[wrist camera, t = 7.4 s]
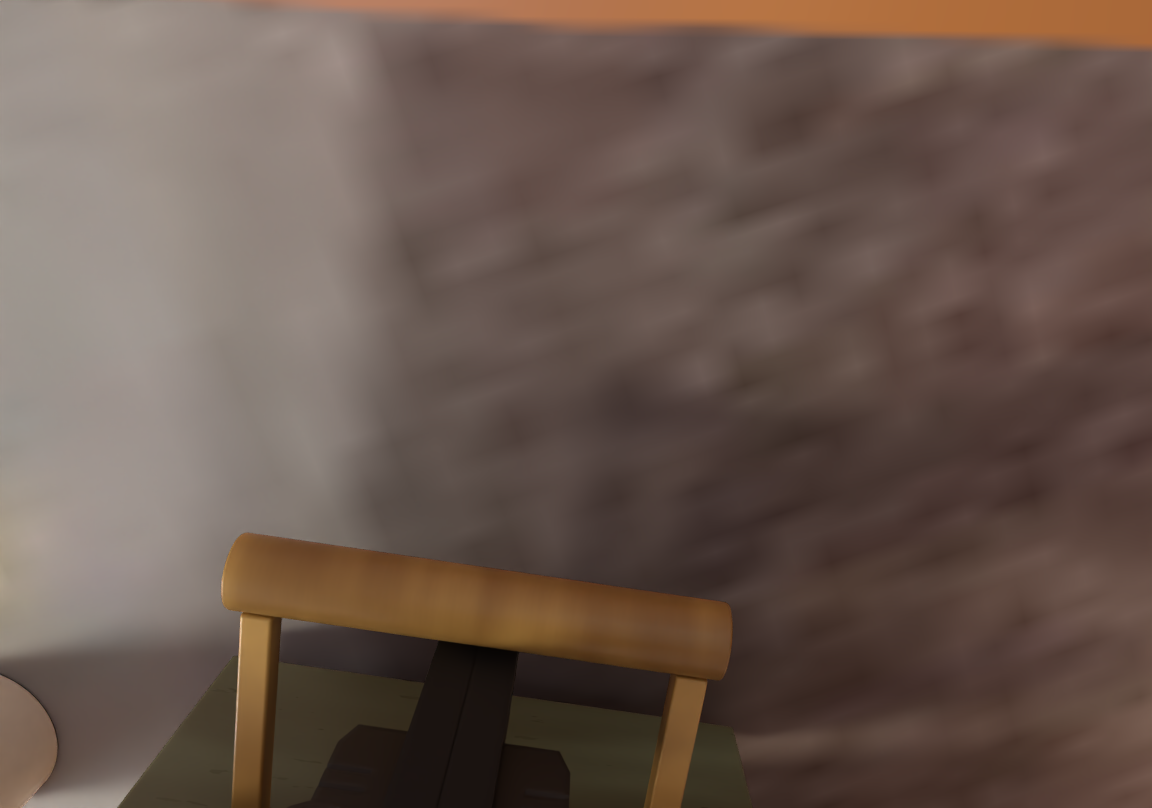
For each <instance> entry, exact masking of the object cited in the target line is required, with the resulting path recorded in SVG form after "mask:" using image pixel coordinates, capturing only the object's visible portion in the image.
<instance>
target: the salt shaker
mask: <svg viewBox="0 0 1152 808" xmlns="http://www.w3.org/2000/svg"><path fill="white" fill-rule="evenodd" d="M57 751H58V747H57V737H56V732H55V729H54V727H53V724H52V722H51V720H50V718H49V716H48V714H47V712H46V711H45V709H44V708H43V706H42V705H41V704H40V703H39V702H38V701H37V699H36V698H35V697H34V696H33V695H31V694H30V693H29V692H28V691H27V690H26V689H24V688H23V687H22V686H20V685H19V684H17V683H16V682H14V681H12V680H10V679H8V678H6V677H4V676H2V675H0V808H22V807H23V806H24V805H25V804H26V803H27V802H28V801H29V800H30V799H31V797H32V796H33V795H34V794H35V793H36V792H37V791H38V790H39V789H40V788H41V787H42V785H43V784H44V783H45V782H46V781H47V779H48V778H49V777H50V775H51V773H52V771H53V769H54V766H55V763H56V759H57Z"/></svg>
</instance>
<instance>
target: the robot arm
mask: <svg viewBox="0 0 1152 808" xmlns="http://www.w3.org/2000/svg"><path fill="white" fill-rule="evenodd" d="M518 654H519V652H517V651H510V650H503V649H496V648H489V647H482V646H475V645H468V644H461V643H454V642H447V641H440V640H439V642H438V645H437V648H436V651H435V654H434V657H433V660H432V662H431V665H430V668H429V671H428V674H427V677H426V680H425V683H424V686H423V689H422V691H421V694H420V697H419V700H418V703H417V706H416V709H415V712H414V715H413V717H412V720H411V723H410V726H409V729H408V731H402V730H396V729H389V728H382V727H375V726H368V725H361V724H358V725H357V726H356V727H355V728H353V729H352V730H351V731H350V732H349V733H347V734H346V735H345V736H344V737H343V738H342V739H340V740H339V741H338V742H337V744H336V747H335V749H334V751H333V753H332V755H331V757H330V759H329V762H328V764H327V768H325V770H324V772H323V775H322V777H321V779H320V781H319V785H318V787H317V788H316V790H315V792H314V794H313V796H312V798H311V800H310V801H306V802H302V803H298V804H295V805H291V806H289V807H287V808H569V795H570V771H569V769H568V767H567V765H566V763H565V761H564V759H563V757H562V755H561V753H560V751H555V750H548V749H542V748H535V747H528V746H521V745H514V744H507V743H505V740H506V734H507V728H508V721H509V715H510V708H511V701H512V694H513V688H514V681H515V674H516V667H517V660H518Z"/></svg>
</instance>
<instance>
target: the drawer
mask: <svg viewBox="0 0 1152 808" xmlns="http://www.w3.org/2000/svg"><path fill="white" fill-rule="evenodd" d="M221 597H222V602H223V605H224V607H225V608H227V609H228V610H232V611H239V612H243V613H242V614H241V616H240V637H239V656H233V657H232V658H231V660H230V661H229V662H228V664H227V665H226V666H225V668H224V669H223V670H222V671H221V673H220V674H219V675H218V677H217V678H216V679H215V681H214V682H213V683H212V685H211V686H210V687H209V688H208V690H207V691H206V692H205V694H204V695H203V696H202V698H201V699H200V700H199V702H198V703H197V704H196V705H195V707H194V708H193V709H192V711H191V712H190V713H189V715H188V716H187V717H186V719H185V720H184V721H183V722H182V724H181V725H180V726H179V728H178V729H177V730H176V732H175V733H174V734H173V736H172V737H171V738H170V739H169V741H168V742H167V743H166V745H165V746H164V747H163V749H162V750H161V751H160V753H159V754H158V755H157V756H156V758H155V759H154V760H153V762H152V763H151V764H150V766H149V767H148V768H147V770H146V771H145V772H144V773H143V775H142V776H141V777H140V779H139V780H138V781H137V783H136V784H135V785H134V787H133V788H132V789H131V790H130V792H129V793H128V794H127V796H126V797H125V798H124V800H123V801H122V802H121V804H120V805H119V806H118V807H117V808H287V807H289V806H291V805H295V804H298V803H302V802H306V801H310V800H311V798H312V796H313V794H314V792H315V790H316V788H317V787H318V785H319V781H320V779H321V777H322V775H323V772H324V770H325V768H327V764H328V762H329V759H330V757H331V755H332V753H333V751H334V749H335V747H336V744H337V742H338V741H339V740H340V739H342V738H343V737H344V736H345V735H346V734H347V733H349V732H350V731H351V730H352V729H353V728H355V727H356V726H357V725H358V724H361V725H368V726H375V727H382V728H389V729H396V730H402V731H408V729H409V726H410V723H411V720H412V717H413V715H414V712H415V709H416V706H417V703H418V700H419V697H420V694H421V691H422V689H423V686H424V683H422V682H415V681H408V680H401V679H394V678H387V677H380V676H373V675H366V674H359V673H352V672H345V671H338V670H332V669H325V668H318V667H311V666H304V665H297V664H290V663H283V662H279V652H280V636H281V620H282V618H288V619H295V620H302V621H309V622H316V623H322V624H329V625H336V626H343V627H350V628H357V629H364V630H371V631H378V632H385V633H392V634H399V635H406V636H413V637H420V638H426V639H433V640H440V641H447V642H454V643H461V644H468V645H475V646H482V647H489V648H496V649H503V650H510V651H517V652H524V653H531V654H537V655H544V656H551V657H558V658H565V659H572V660H579V661H586V662H593V663H600V664H607V665H614V666H621V667H628V668H635V669H641V670H648V671H655V672H662V673H669V674H670V679H669V684H668V689H667V694H666V699H665V704H664V709H663V714H662V717H659V716H652V715H645V714H638V713H631V712H624V711H617V710H610V709H603V708H596V707H590V706H583V705H576V704H569V703H562V702H555V701H548V700H541V699H534V698H527V697H520V696H513V695H512V701H511V708H510V715H509V721H508V728H507V734H506V740H505V743H507V744H514V745H521V746H528V747H535V748H542V749H548V750H555V751H560V753H561V755H562V757H563V759H564V761H565V763H566V765H567V767H568V769H569V771H570V795H569V808H753V807H752V803H751V799H750V795H749V791H748V787H747V783H746V779H745V775H744V771H743V767H742V763H741V759H740V755H739V751H738V747H737V743H736V739H735V735H734V731H733V728H732V727H729V726H722V725H715V724H708V723H701V722H699V720H700V715H701V710H702V706H703V701H704V696H705V692H706V687H707V679H711V680H721V679H722V678H723V677H724V675H725V673H726V670H727V667H728V664H729V659H730V654H731V647H732V635H733V622H732V613H731V609H730V606H729V604H728V603H726V602H721V601H714V600H707V599H700V598H694V597H687V596H680V595H673V594H666V593H659V592H652V591H645V590H639V589H632V588H625V587H618V586H611V585H604V584H597V583H591V582H584V581H577V580H570V579H563V578H556V577H549V576H542V575H536V574H529V573H522V572H515V571H508V570H501V569H494V568H487V567H481V566H474V565H467V564H460V563H453V562H446V561H439V560H433V559H426V558H419V557H412V556H405V555H398V554H391V553H384V552H378V551H371V550H364V549H357V548H350V547H343V546H336V545H330V544H323V543H316V542H309V541H302V540H295V539H288V538H281V537H275V536H268V535H261V534H254V533H243V534H241V535H240V536H239V537H238V538H237V539H236V541H235V542H234V544H233V546H232V548H231V550H230V552H229V554H228V557H227V560H226V563H225V567H224V571H223V576H222V584H221Z"/></svg>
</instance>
